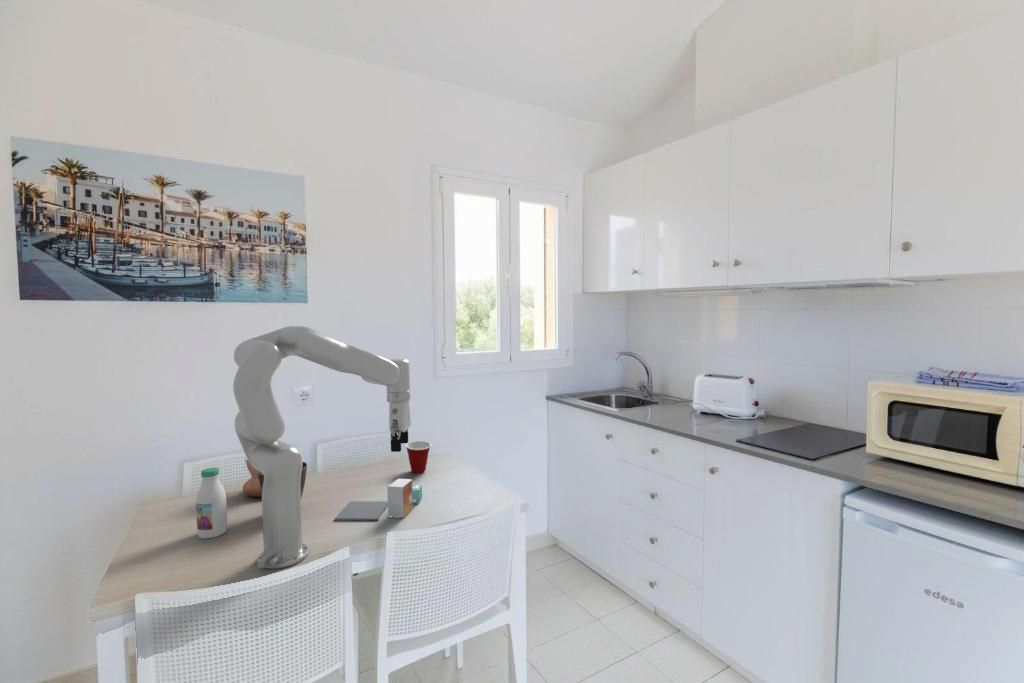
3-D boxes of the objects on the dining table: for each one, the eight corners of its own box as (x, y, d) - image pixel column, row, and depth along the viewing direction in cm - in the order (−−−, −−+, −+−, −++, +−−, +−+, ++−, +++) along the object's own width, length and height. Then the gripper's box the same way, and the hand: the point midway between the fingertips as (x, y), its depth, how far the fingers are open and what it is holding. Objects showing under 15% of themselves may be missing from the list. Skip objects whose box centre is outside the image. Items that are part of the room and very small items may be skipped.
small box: (403, 519, 153) (402, 487, 153) (387, 517, 155) (386, 486, 154) (413, 509, 161) (412, 479, 161) (398, 507, 162) (397, 477, 162)
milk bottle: (222, 525, 149) (219, 463, 148) (231, 532, 144) (229, 468, 143) (193, 534, 143) (191, 470, 142) (202, 542, 138) (200, 475, 137)
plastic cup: (414, 477, 192) (413, 449, 192) (401, 471, 200) (400, 443, 200) (436, 471, 200) (436, 444, 199) (423, 465, 207) (422, 439, 207)
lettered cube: (419, 504, 166) (418, 489, 165) (404, 504, 166) (404, 489, 165) (422, 498, 171) (421, 484, 170) (408, 498, 171) (408, 484, 171)
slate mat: (377, 520, 152) (377, 518, 152) (334, 520, 152) (334, 518, 152) (389, 503, 166) (389, 501, 166) (350, 503, 166) (350, 501, 166)
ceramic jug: (292, 494, 175) (291, 456, 174) (248, 504, 166) (247, 464, 165) (279, 482, 189) (278, 447, 188) (238, 491, 179) (236, 454, 179)
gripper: (403, 401, 147) (404, 454, 148) (415, 391, 164) (416, 440, 165) (379, 401, 147) (381, 455, 148) (394, 392, 164) (395, 440, 165)
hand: (399, 447), depth 157 cm, fingers open, 9 cm apart
